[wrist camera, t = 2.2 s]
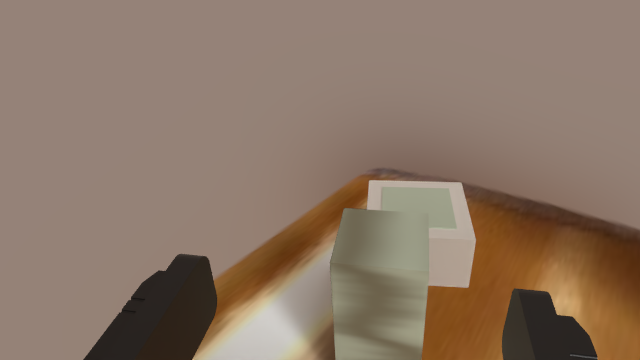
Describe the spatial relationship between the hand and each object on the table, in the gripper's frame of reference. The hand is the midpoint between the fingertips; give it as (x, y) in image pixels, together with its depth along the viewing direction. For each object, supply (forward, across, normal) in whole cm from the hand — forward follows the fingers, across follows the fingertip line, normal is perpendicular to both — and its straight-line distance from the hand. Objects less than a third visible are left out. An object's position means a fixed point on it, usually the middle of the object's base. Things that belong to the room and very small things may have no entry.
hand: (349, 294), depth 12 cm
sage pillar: (+11, 0, +17) cm, 20 cm away
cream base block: (+22, -2, +17) cm, 28 cm away
